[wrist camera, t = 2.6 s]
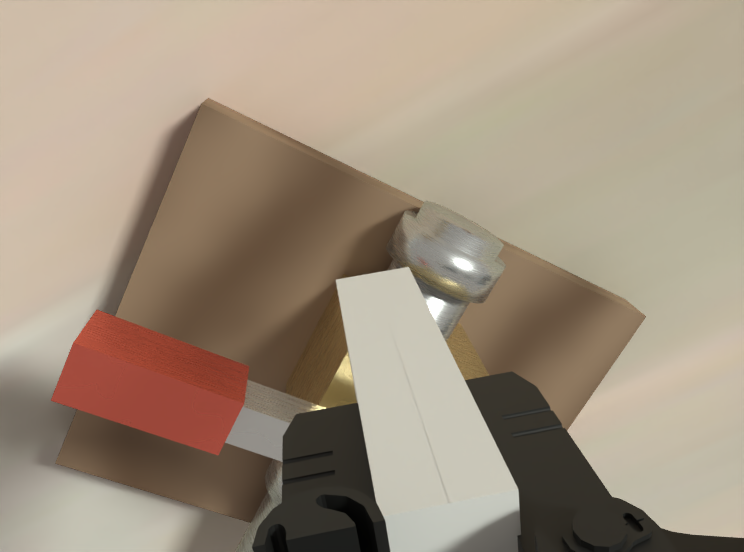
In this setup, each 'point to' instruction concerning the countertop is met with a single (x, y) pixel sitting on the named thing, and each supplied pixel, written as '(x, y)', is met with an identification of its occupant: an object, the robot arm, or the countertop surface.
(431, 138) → the countertop surface
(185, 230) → the mounting board
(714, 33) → the countertop surface
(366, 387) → the robot arm
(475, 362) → the valve pipe
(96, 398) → the valve lever
